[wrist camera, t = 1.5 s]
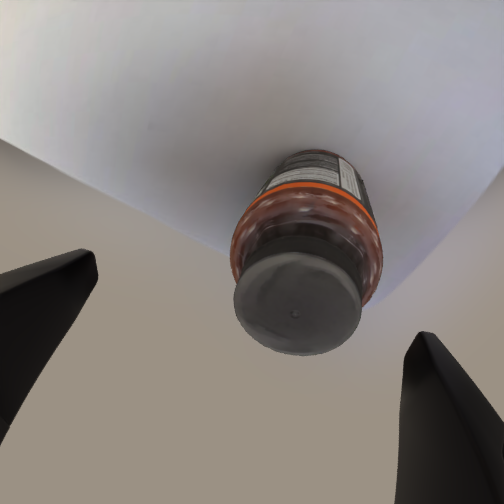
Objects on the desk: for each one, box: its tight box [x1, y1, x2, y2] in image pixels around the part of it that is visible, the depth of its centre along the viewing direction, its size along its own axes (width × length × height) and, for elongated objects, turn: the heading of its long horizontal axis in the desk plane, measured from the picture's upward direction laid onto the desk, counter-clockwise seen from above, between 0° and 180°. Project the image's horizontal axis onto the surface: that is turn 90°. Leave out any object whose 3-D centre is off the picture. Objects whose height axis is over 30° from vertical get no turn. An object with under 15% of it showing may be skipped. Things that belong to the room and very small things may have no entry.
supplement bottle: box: [230, 150, 383, 356], centre depth 14 cm, size 6×6×11 cm
